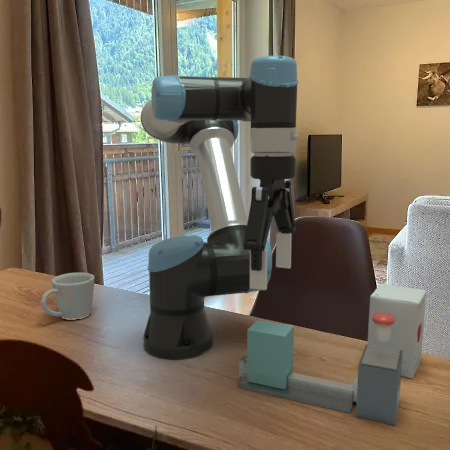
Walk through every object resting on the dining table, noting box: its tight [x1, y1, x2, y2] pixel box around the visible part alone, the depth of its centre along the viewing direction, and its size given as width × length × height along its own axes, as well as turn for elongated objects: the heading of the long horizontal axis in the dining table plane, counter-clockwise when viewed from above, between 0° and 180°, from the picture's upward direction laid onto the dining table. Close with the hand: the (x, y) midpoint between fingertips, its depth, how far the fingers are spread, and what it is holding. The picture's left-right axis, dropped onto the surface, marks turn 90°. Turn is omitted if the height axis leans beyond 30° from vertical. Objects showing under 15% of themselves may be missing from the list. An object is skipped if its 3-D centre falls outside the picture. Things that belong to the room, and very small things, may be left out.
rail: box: [237, 355, 358, 414], centre depth 83 cm, size 22×7×4 cm, turn 65°
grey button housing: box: [355, 344, 403, 426], centre depth 77 cm, size 6×8×9 cm
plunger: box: [372, 312, 395, 342], centre depth 75 cm, size 3×3×4 cm
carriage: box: [246, 319, 295, 390], centre depth 84 cm, size 7×5×10 cm
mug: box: [40, 272, 95, 319], centre depth 117 cm, size 10×15×10 cm
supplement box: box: [366, 283, 427, 380], centre depth 91 cm, size 9×9×15 cm
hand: (271, 277), depth 82 cm, fingers open, 13 cm apart
